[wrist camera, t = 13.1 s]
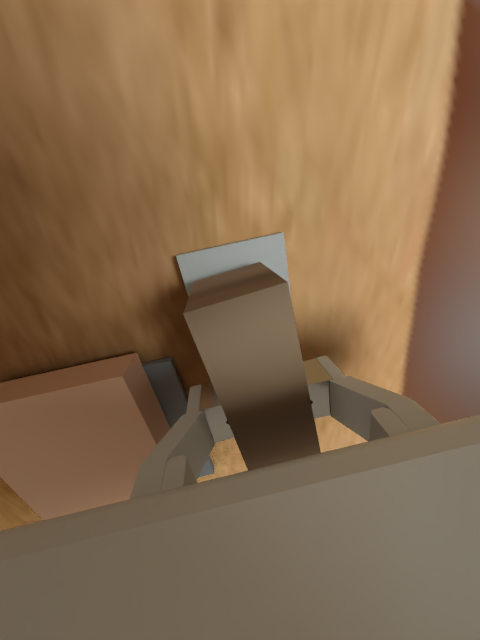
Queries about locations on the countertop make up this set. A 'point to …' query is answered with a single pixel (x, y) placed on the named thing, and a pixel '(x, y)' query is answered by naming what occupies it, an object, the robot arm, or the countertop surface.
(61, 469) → the tile
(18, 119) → the countertop surface
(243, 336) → the tall taupe beveled block
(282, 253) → the pad
